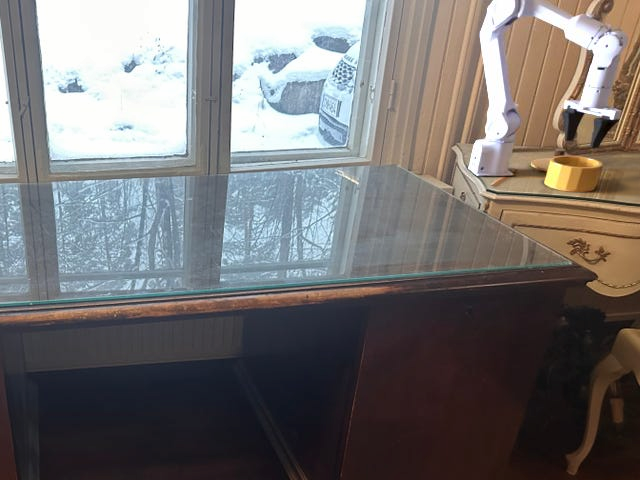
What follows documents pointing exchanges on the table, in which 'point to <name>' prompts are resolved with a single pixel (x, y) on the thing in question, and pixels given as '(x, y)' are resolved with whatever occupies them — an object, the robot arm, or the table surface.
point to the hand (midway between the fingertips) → (581, 143)
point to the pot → (573, 173)
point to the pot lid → (546, 160)
